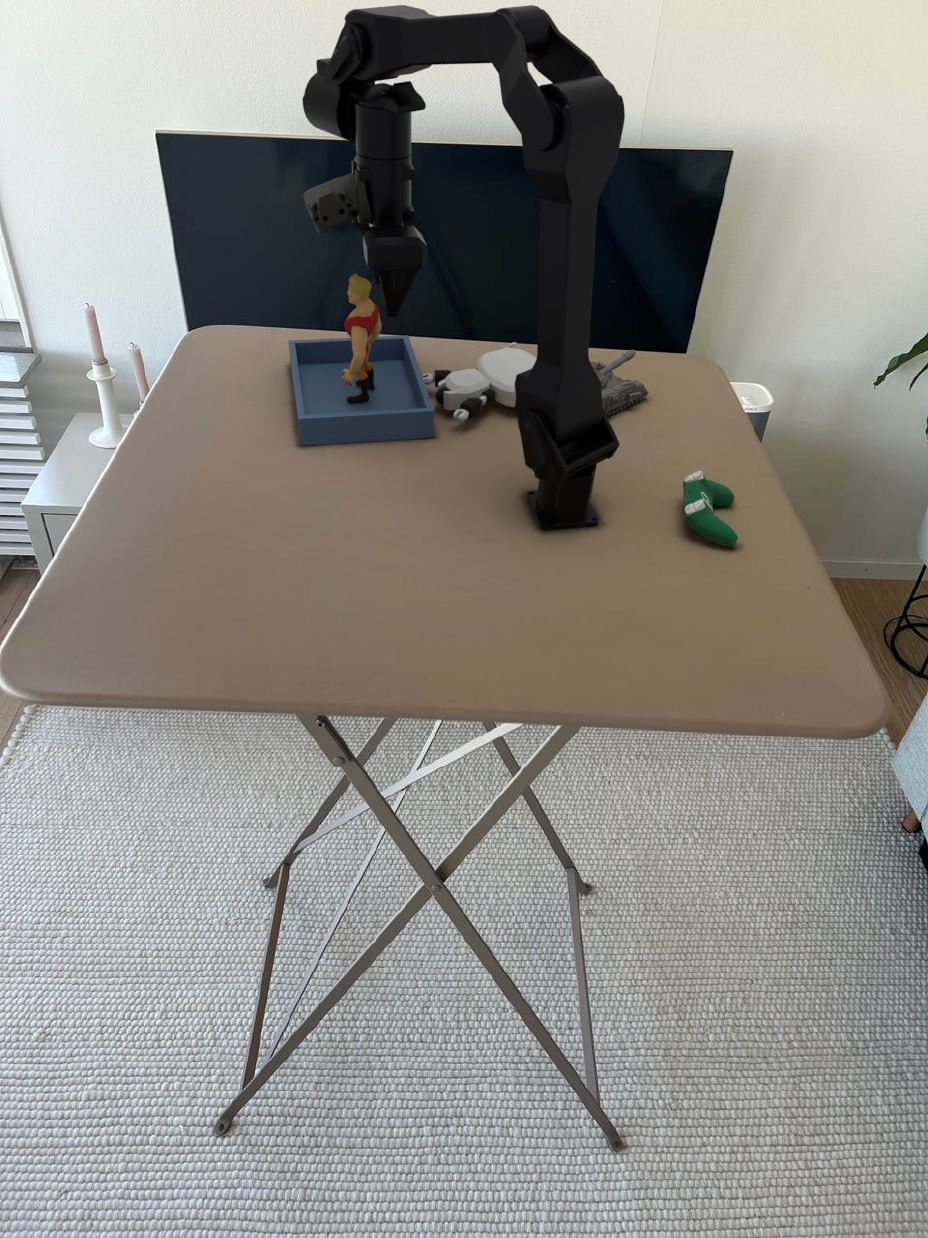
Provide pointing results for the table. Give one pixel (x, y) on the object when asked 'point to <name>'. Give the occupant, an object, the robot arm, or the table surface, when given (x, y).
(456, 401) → the robot toy
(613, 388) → the tank toy
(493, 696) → the table surface
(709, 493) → the green christmas stockings
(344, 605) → the table surface
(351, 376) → the action figure
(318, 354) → the storage bin
